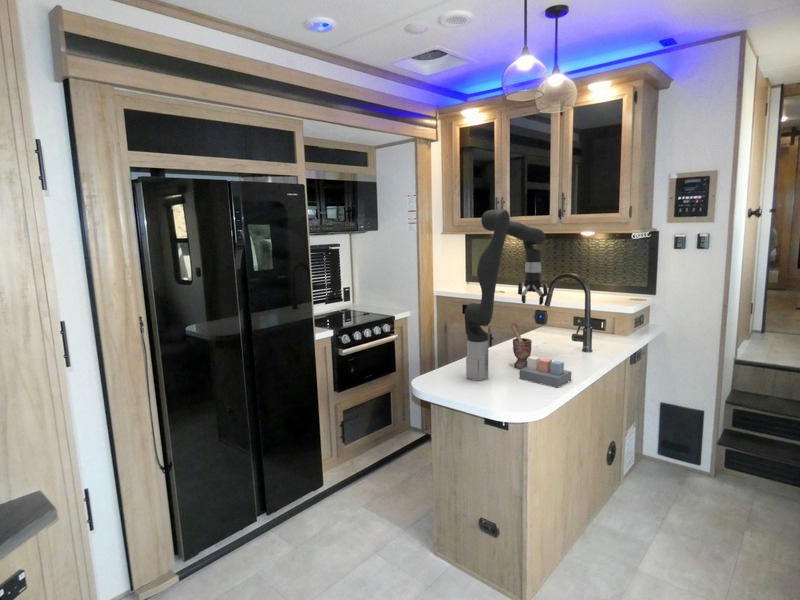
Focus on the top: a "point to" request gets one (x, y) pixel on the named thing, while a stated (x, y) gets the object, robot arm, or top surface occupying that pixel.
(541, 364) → the coral key
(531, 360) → the white key
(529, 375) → the grey flat block
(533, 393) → the top surface
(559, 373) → the slate-blue key
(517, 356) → the mortar and pestle
